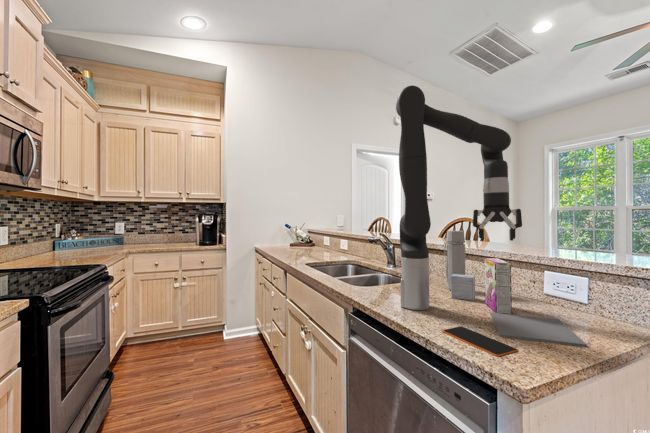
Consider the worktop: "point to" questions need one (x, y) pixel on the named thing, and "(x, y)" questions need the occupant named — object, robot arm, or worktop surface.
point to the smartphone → (480, 341)
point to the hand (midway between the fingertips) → (496, 240)
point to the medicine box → (463, 287)
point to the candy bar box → (498, 285)
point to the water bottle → (454, 255)
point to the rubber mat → (535, 329)
